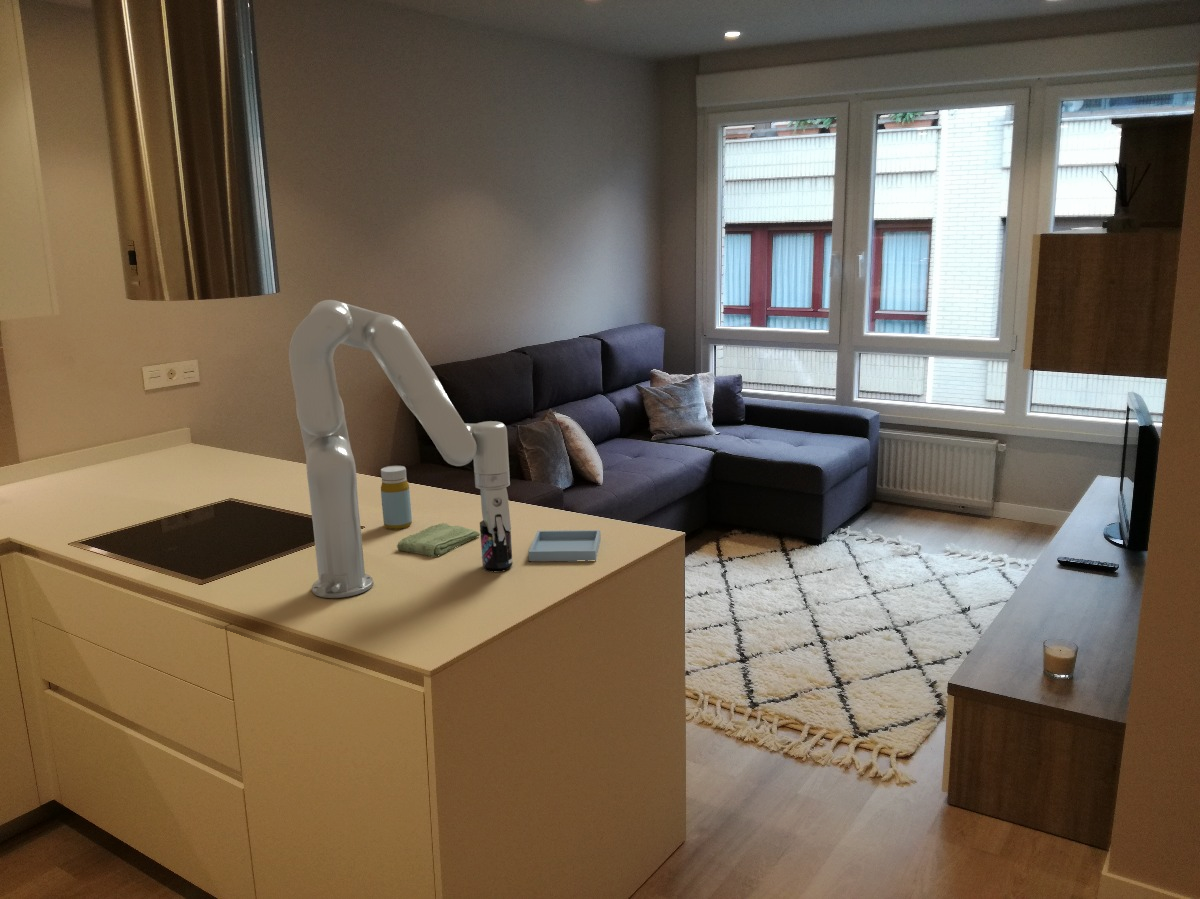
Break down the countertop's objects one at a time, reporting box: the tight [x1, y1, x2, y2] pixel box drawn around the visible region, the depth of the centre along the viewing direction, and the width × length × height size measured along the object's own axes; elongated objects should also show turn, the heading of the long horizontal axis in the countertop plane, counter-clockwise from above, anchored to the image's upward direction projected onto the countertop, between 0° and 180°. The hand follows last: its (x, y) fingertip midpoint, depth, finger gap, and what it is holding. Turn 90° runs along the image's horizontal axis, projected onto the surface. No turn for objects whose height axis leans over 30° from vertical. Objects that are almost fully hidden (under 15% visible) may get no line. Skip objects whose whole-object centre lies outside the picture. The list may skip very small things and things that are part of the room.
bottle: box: [380, 465, 413, 530], centre depth 250 cm, size 7×7×15 cm
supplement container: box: [479, 520, 514, 573], centre depth 218 cm, size 7×7×10 cm
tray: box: [528, 529, 602, 562], centre depth 228 cm, size 15×15×2 cm
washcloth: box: [396, 522, 481, 557], centre depth 236 cm, size 13×18×3 cm
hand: (497, 556), depth 218 cm, fingers closed on supplement container, 6 cm apart
